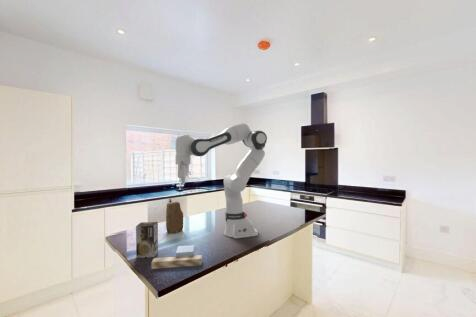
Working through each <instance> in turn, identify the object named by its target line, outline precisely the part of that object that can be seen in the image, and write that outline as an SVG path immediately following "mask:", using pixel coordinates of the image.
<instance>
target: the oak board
mask: <svg viewBox="0 0 476 317" xmlns="http://www.w3.org/2000/svg"><path fill="white" fill-rule="evenodd" d="M202 262H203V255H202V254H197V255H195V254H194V256H178V257H176V256H168V257H167V256H165V257H164V256H162V257H153V259H152V261H151V270H157V269H171V268H182V267H195V266H197V267H198V266H202Z"/></svg>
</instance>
